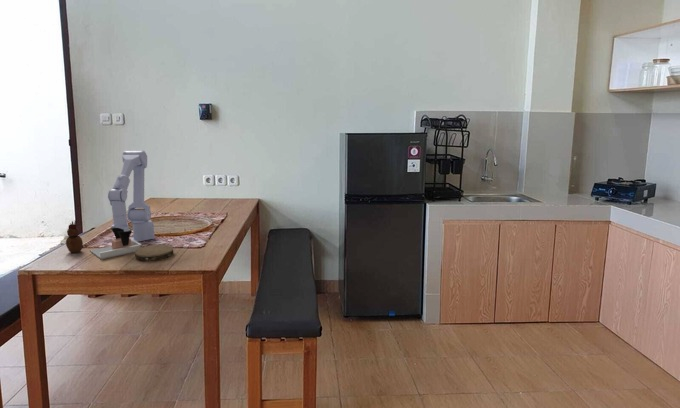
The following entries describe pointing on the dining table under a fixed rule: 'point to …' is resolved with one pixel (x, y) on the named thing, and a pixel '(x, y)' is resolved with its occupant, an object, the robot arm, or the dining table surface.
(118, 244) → the terracotta block
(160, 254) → the wooden log slice
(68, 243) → the wooden figurine
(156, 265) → the dining table surface
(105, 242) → the dining table surface
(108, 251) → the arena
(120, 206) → the robot arm
